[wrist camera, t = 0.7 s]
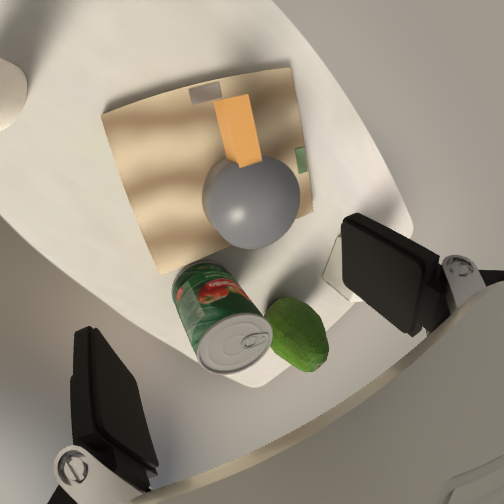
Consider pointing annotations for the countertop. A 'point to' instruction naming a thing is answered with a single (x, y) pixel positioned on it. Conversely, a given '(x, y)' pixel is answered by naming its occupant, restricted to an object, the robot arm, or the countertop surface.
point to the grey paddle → (248, 183)
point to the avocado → (297, 334)
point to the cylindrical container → (11, 92)
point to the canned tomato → (220, 319)
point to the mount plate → (197, 157)
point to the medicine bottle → (338, 273)
